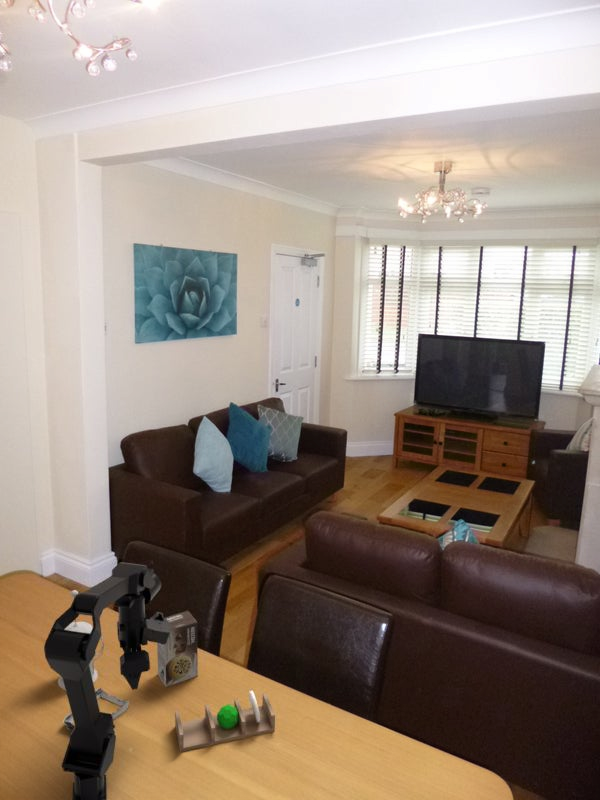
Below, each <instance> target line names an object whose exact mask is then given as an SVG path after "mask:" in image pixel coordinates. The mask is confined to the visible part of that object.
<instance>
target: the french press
mask: <svg viewBox="0 0 600 800" xmlns="http://www.w3.org/2000/svg"><path fill="white" fill-rule="evenodd" d="M69 594H70V595H69V596H70V597H73V599H74V598H75V596H76V595H77V594H79V592H78V590H76V589H74V590H71V591H70V593H69ZM92 629H93V625H91V624H90V623H88V622H86V621H77V618H76V619H75V620H74V621H73V622H72V623H71V624H70V625H69V626H67V627H66V628H65V629H64V630H70V631H77V632H83V633H91V631H92ZM100 640H101V642H102V645H101V648H100V650H99V651H98V652H97V653H95V655H94V657H93V659H92V661H91V662H90V664H89V667H90V671H91V675H92V680H93V684H94V683H95V682H96V681H97V680H98V677H99V675H98V671H97V670H96V669H95V665H94V663H95V662H94V661H96V660H97V659H99V658H100V657H101V656H102V654H103V653H104V650H105V643H104V640H105V639H104V638H103V635H102V634H101V638H100ZM97 655H98V656H97ZM96 656H97V657H96ZM57 685H58V687H60V688H61V689H62V690H65V691H66V689H65V686H64V682H63V678H62V676H60V675H59V677H58V680H57Z"/></svg>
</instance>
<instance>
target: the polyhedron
mask: <svg viewBox="0 0 600 800" xmlns="http://www.w3.org/2000/svg"><path fill="white" fill-rule="evenodd" d="M216 715H217V721H218V723H219V725H220V726H221V727H223V728H225V729H229V728H232V727H234V726H235V724H236V723H237V721H238V718H239V714H238V711H237V710H236V708H235V707H234V705H231V704H226V705H223V706H221V707H220V709H219V711H218V713H217V714H216Z"/></svg>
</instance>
